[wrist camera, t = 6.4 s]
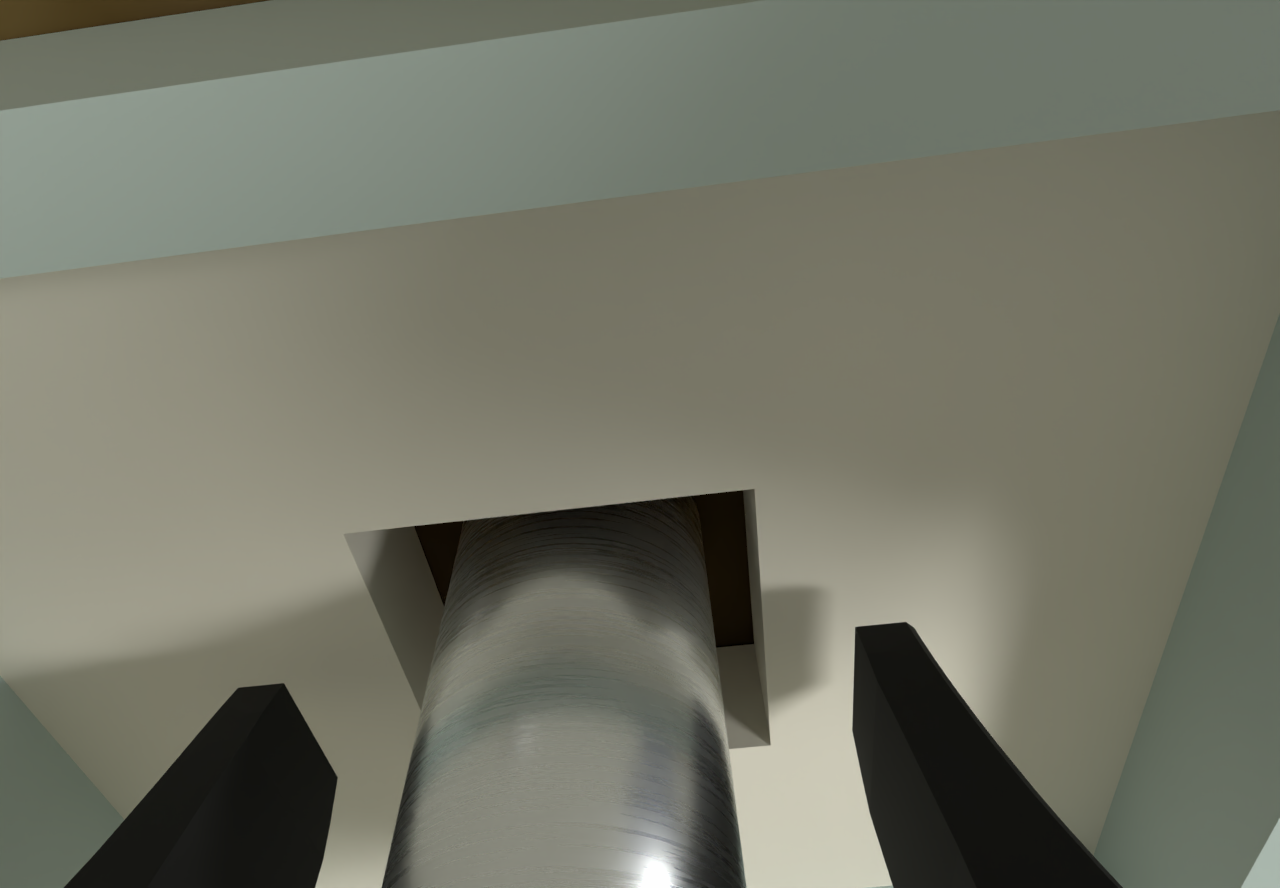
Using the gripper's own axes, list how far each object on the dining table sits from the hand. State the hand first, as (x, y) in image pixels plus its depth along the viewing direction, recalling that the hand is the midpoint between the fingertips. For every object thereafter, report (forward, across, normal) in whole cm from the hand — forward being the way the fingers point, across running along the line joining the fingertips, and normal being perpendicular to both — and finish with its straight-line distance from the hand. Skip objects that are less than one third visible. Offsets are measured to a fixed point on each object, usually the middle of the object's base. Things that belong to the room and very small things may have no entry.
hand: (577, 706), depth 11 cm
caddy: (+3, 0, 0) cm, 3 cm away
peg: (+3, 0, 0) cm, 3 cm away
